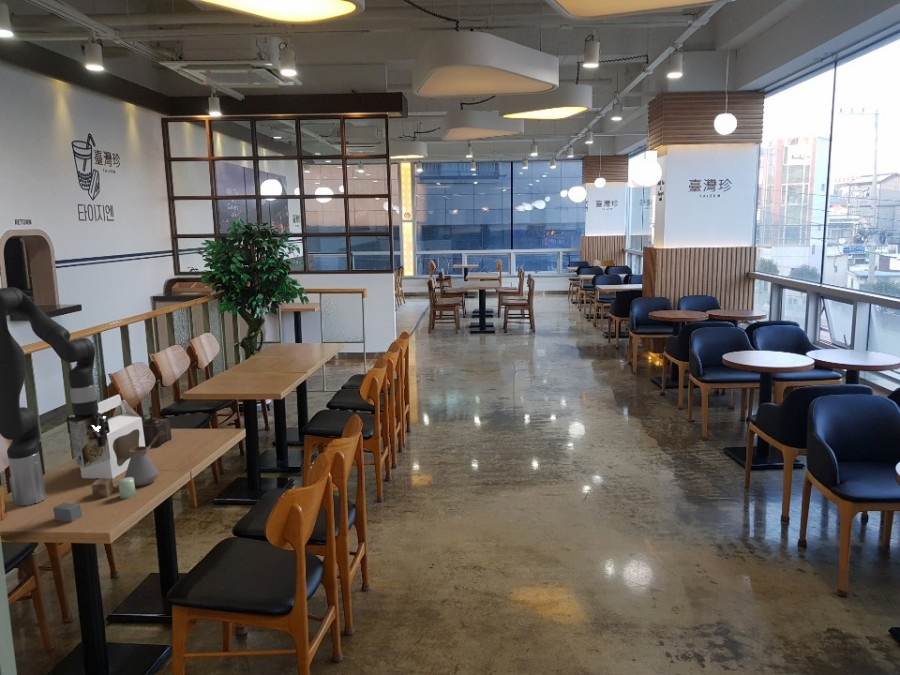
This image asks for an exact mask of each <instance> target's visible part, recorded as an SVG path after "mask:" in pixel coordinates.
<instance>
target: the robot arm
mask: <svg viewBox="0 0 900 675" xmlns="http://www.w3.org/2000/svg"><path fill="white" fill-rule="evenodd" d="M13 315H19V316H21V317H23V318H25V319H27V321H29V324H30V327H31V329H32V332H33V333H34V334H35V335H36V337H38V338H39V339H41V340H42V341H43V342H44V343H45V344H48V345H49V346H51V348H52V350H53V351H54V352H55V354H57V356H58V357H59V359H60V360H62V361H64V362H66V363H70V364H71V363H76V365H75V367H73V368H72V369H70V370H69V372H68V375H67V376H68V381H69V382H68V383H69V388H70V390H69V391H70V392H69V393H70V401H71V402H70V403H71V408H72V413H73V414H70V415H68V416H66V425H67V433H68V434H69V435H71V433H70V426H69V420H68V419H69V418H73V417H87V418H92V421H93V424H95V423H96V421H97V420H98V421H99V423H100V426H98V427H96V428H95V427H94V426H93V425H91V428H92V431H93V432H95V433H96V435H97V436H98V437H97V440H98V447H103V446H104V445H105V434H107V433H109V432H110V430H109V424H108V419H109V418H108V416H107V415H104V416H103V417H99V416H98V410H99V409H98V402H99V401H98V395H97V388H96V386H95V382H94V381H95V380H94V374H93V371H94V364H95V358H96V348H95V345H94V343H93V342H92V340H91V339H89V338H88V337H80V338H76V339H72V340H70V339H71V333H70V331H69V330H68V329H66V328H65V327H64V326H62V325H61V324H59V323H58V322H57V321H55V320H54V319H52V318H51V317H49V316H48V314H46V313H45V312H44V311H43V310H42V309H41V308H40V307H39V306H38V305H37V304H36V303H35V302H33V300H32V299H31V298H30V297H28V295H27V294H25V293H24V292H23V291H22V290H21V289H19V288H17V287H15V286H14V287H10V286H9V287H0V436H1V437H3V438H4V439H5V440H8V441H9V440H10V441H11V443H10V444H9V446H8V447H7V449H6V454H7V459H8V466H9V470H10V477H9V485H10V490H11V497H12V501H13V504H15V505H16V506H19V507H25V506H24V505H27V506H31V504H32V505H35V504H34V503H36V504H38V502H39V503H41V502H42V500H43V501H44V500H46V499H47V494H46V488H45V481H44V474H43V470H42V462H41V457H40V450H39V445H40V430H39V422H38V418H37V416H36V413H35V412H34V411H33V410H32V409H31V408H29V407H24V406H23V407H21V405H20V398H21V393H22V389H23V386H24V385H25V384H24V383H25V380H26V376H27V364H26V356H25V352H24V350H23V348H22V347H21V346H20V344H19V343H18V341H17V340H16V339H15V338H14V337H13V335H12V334H11V332H10V330H9V326H8V319H7V318H8V316H13ZM98 429H100V432H99V431H98ZM45 498H46V499H45Z"/></svg>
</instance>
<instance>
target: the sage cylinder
mask: <svg viewBox="0 0 900 675" xmlns="http://www.w3.org/2000/svg"><path fill="white" fill-rule="evenodd" d="M117 484H118V491H119V497H120V499H121V500H127V499H131V497H132V498H134V497H136V496H137V494H136V492H137V491H136V486H135V484H134V478H133V477H126V478H125V477H123V478H120V479H119V480H118V481H117ZM133 496H134V497H133Z"/></svg>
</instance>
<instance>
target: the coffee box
mask: <svg viewBox="0 0 900 675" xmlns="http://www.w3.org/2000/svg"><path fill="white" fill-rule="evenodd" d="M98 416H99V417H103V416H105V414H104V413H98ZM68 420H69V426H70V433H71V434H70V437H71V444H72V452H73V457H74V458H73V459H74V464H75V465H76V466H79V467H80V466H81V467H83V468H86V467H89V466H92V465H95V464H97V463H101V462H104V461H106V460H109V459H110V452H109V445H108V439H107V434H105V445H104V446H103V447H98V440H97V437H98V436H97V435H96V433H95V432H93V431H92V428H91V425H93V426H94V427H95V428H96V427H98V426H100V423H99V421H98V420H97V421H96V423H95V424H93V421H92V418H87V417H73V418H69V419H68ZM98 431H99V432H100V429H98Z"/></svg>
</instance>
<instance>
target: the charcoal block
mask: <svg viewBox="0 0 900 675" xmlns="http://www.w3.org/2000/svg"><path fill="white" fill-rule="evenodd" d="M81 508H82V507H81V504H78V503H68V502H62V503H60V504H59V505H56V506H54V507H53V508H52V509H53V514H54V516H53V517H54V520H55V521H56V520H61V521H60V522H65V521H69V522H68V523H73V521H74V522H75V521H77V520H79V519H81V518H82V517H83V516H82V510H81ZM80 517H81V518H80ZM78 518H79V519H78ZM76 519H77V520H76Z"/></svg>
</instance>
